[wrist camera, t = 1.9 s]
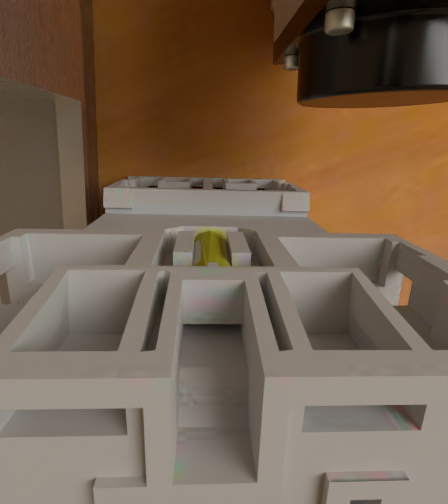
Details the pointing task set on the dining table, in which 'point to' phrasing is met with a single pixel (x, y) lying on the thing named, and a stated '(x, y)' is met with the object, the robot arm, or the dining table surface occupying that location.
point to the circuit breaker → (220, 355)
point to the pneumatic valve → (364, 51)
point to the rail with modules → (47, 117)
